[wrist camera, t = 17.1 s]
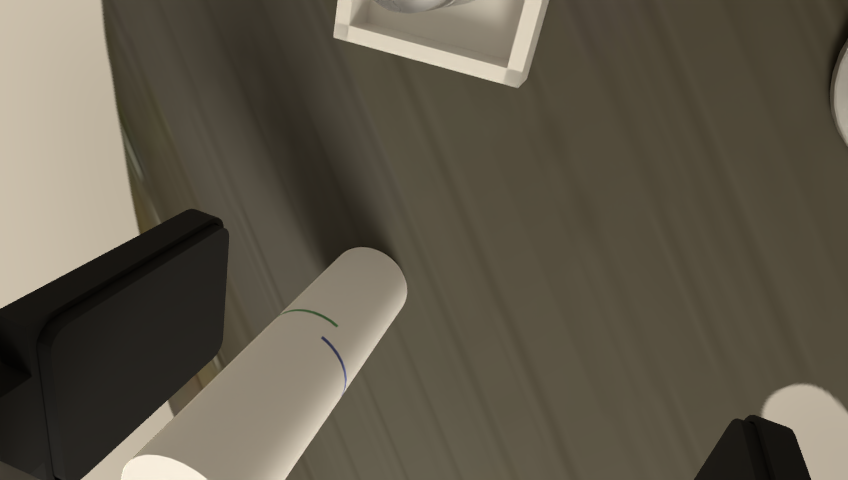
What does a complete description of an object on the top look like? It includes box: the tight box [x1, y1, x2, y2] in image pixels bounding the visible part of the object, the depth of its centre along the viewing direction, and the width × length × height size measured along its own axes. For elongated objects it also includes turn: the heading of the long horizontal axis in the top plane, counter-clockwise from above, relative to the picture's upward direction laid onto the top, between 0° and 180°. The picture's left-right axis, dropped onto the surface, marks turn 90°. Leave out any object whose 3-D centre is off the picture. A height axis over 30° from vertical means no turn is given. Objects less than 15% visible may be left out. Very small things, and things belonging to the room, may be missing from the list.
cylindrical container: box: [121, 247, 407, 480], centre depth 40 cm, size 7×7×25 cm
